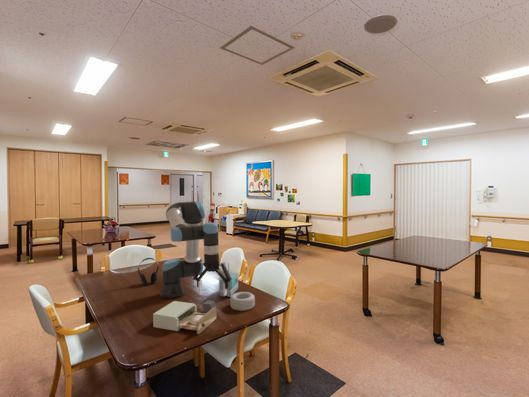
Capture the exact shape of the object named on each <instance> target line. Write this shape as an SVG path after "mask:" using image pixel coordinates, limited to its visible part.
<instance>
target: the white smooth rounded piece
mask: <svg viewBox="0 0 529 397" xmlns="http://www.w3.org/2000/svg"><path fill="white" fill-rule="evenodd" d="M202 316H203V315H196V316H193V317H191V318H190V324H192V325H197V322H196V321H197V320H199V319H200V318H201V317H202Z"/></svg>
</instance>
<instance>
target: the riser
mask: <svg viewBox="0 0 529 397" xmlns="http://www.w3.org/2000/svg"><path fill="white" fill-rule="evenodd" d="M213 307H216V301H214V300H205V302H203V303H202V311H203V312H202V313H204V314H206V313H207V312H208V311H210V310H211V309H212V308H213Z"/></svg>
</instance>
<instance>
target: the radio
mask: <svg viewBox="0 0 529 397" xmlns="http://www.w3.org/2000/svg"><path fill="white" fill-rule="evenodd" d="M227 267H228V268H227V270H228V272H229V274H230V276H231V278H232V280H231V281H230V282H228V288H227V294H226V295H225V296H227V297H228V298H229V297H231V296H232V295H233V294H235V293H236V291H237V290H238V289H239V274H238V272H230V263H228V266H227ZM218 282H219V283H218V284H219V285H218V286H219V296H220V297H225V296H224V293H223V283H224V281H223V280H222V278H221V277H220V279H219V280H218Z"/></svg>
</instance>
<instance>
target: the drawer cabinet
mask: <svg viewBox="0 0 529 397" xmlns="http://www.w3.org/2000/svg"><path fill="white" fill-rule="evenodd" d="M197 308H198V307H197V305H196V303H193V302H184V301H177V300H174V301H172V302H170V303H168V304H167V305H165V306H164V307H162V308H160V309H159V310H157V311H155V312H154V313H153V314H152V319H153V320H152V322H153V328H157V329H164V330H168V331H175V332H178V331H180V330H181V329H182V328H179V322H180V321H182V320H183V319H184V318H186V317H187V316H188V315H190V312H197V311H198V310H197ZM197 313H198V312H197Z"/></svg>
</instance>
